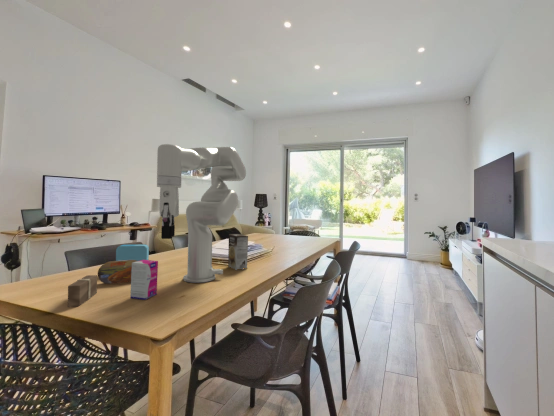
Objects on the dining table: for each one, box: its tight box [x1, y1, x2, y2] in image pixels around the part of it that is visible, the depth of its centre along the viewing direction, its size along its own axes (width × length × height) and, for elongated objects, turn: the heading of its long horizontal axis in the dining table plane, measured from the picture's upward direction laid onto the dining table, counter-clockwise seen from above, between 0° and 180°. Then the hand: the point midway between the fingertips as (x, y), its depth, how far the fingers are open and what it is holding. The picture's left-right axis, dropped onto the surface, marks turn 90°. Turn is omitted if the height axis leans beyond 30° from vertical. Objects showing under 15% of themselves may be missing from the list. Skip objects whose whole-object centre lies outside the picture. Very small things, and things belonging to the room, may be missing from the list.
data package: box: [115, 243, 150, 261], centre depth 119 cm, size 12×4×12 cm, turn 105°
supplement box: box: [129, 260, 159, 301], centre depth 88 cm, size 6×6×12 cm
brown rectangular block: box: [67, 274, 98, 308], centre depth 85 cm, size 3×12×6 cm, turn 13°
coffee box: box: [227, 233, 249, 271], centre depth 132 cm, size 9×6×16 cm
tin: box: [97, 260, 137, 285], centre depth 104 cm, size 15×3×8 cm, turn 117°
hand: (168, 237), depth 90 cm, fingers open, 4 cm apart
